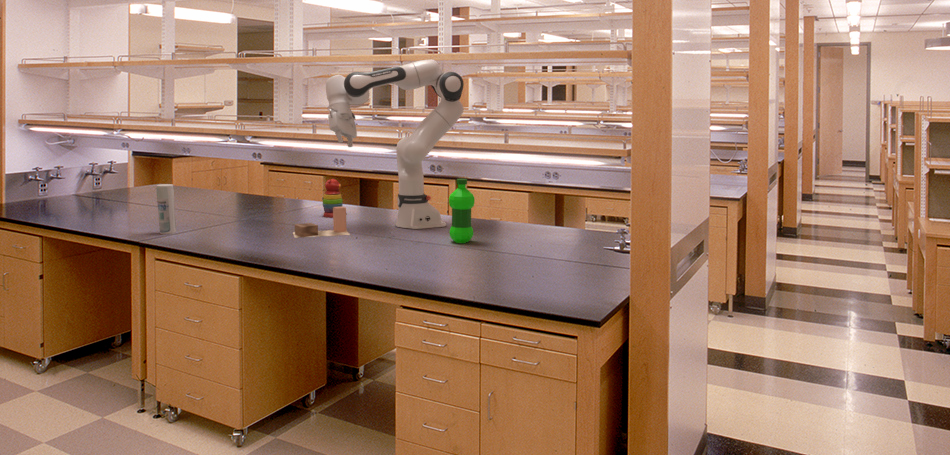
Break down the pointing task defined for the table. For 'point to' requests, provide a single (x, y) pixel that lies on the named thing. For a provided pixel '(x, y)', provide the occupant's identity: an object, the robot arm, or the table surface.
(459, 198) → the plastic bottle
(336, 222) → the terracotta pillar
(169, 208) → the spray can
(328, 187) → the stacking bear
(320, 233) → the birch base board
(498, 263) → the table surface
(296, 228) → the walnut plinth
